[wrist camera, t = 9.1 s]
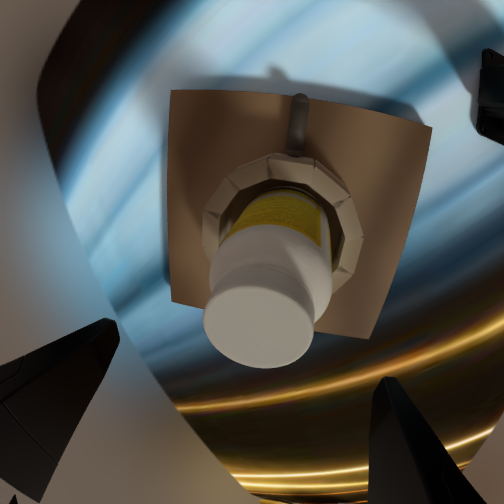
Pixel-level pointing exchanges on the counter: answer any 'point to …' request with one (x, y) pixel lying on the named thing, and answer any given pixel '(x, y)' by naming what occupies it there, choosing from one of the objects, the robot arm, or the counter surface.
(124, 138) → the counter surface
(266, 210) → the supplement bottle
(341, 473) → the counter surface
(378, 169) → the dock
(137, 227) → the counter surface
